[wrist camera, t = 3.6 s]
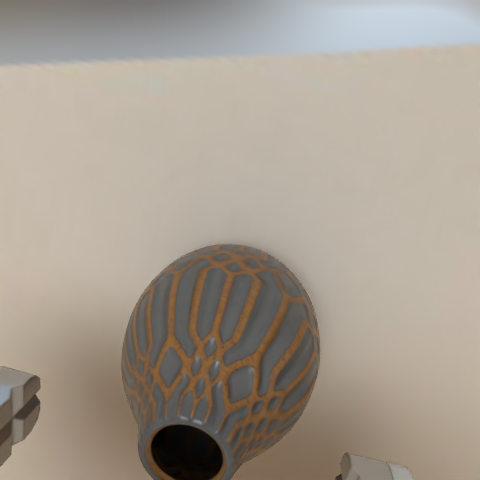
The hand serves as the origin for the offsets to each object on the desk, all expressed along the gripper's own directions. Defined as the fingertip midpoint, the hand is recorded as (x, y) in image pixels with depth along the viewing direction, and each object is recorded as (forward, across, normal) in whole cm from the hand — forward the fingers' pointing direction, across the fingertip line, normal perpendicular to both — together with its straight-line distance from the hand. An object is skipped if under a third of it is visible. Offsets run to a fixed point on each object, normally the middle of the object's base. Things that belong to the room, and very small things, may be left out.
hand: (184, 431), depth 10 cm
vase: (+8, 0, 0) cm, 8 cm away
